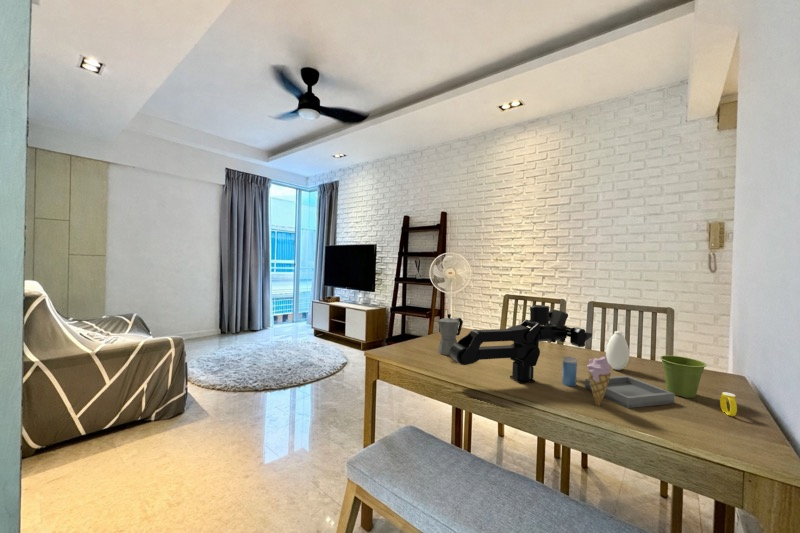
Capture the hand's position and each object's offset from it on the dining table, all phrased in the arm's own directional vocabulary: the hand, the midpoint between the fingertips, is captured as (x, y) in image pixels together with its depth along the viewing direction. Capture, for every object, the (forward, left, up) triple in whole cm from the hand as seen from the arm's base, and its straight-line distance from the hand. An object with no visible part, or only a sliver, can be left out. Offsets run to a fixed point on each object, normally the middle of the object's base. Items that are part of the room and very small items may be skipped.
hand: (581, 332), depth 126 cm
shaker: (-11, -7, -17) cm, 21 cm away
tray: (+1, -19, -16) cm, 25 cm away
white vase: (+21, +3, -17) cm, 27 cm away
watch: (+18, -36, -17) cm, 43 cm away
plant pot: (+20, -22, -17) cm, 34 cm away
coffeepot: (-37, +38, -17) cm, 56 cm away
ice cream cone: (-16, -23, -17) cm, 33 cm away
